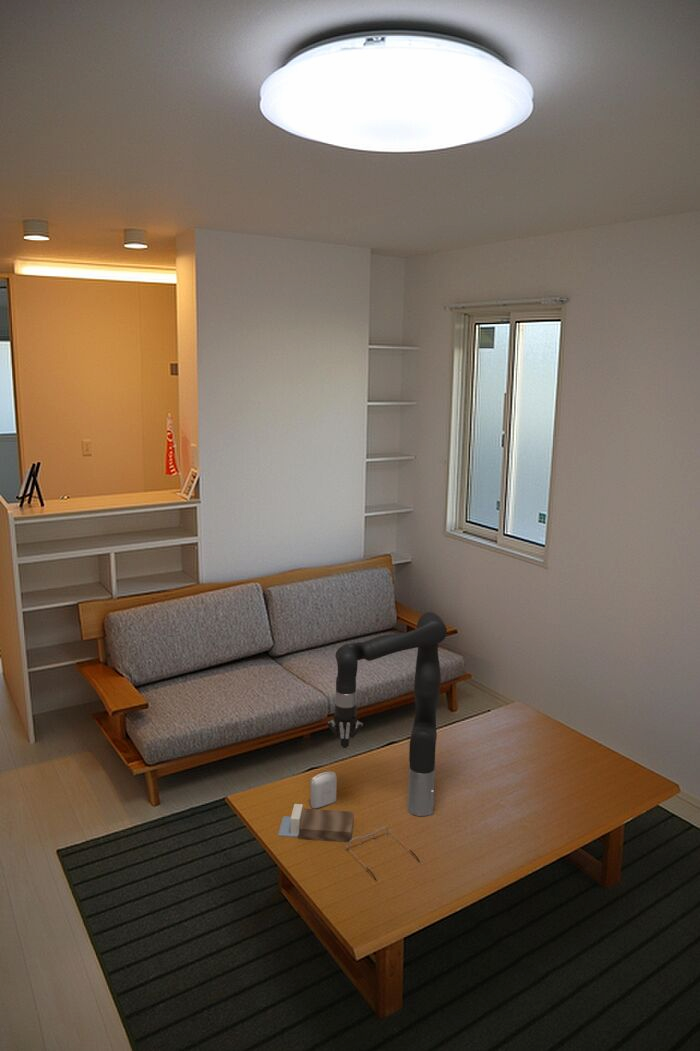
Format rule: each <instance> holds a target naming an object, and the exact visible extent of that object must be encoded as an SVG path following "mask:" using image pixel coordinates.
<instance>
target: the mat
mask: <svg viewBox="0 0 700 1051" xmlns="http://www.w3.org/2000/svg"><path fill="white" fill-rule="evenodd" d="M277 836H278V837H291V838H299V835H296V834H291V816H285V815H284V816H282V819H281V823H280V826H279V831H278V834H277Z"/></svg>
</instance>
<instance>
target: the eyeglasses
mask: <svg viewBox="0 0 700 1051" xmlns="http://www.w3.org/2000/svg"><path fill="white" fill-rule="evenodd" d="M384 828H385V829H386V832H385V834H384V836H386V835H387V834H388V833H389V832H390V833H391V834H392V835H393V836H394V837H395V838H396V839H397V840H398V841H400V842H401V844H403V842H402V841H401V840H400V839H399V838H398V837H396V835H395V834H394V833H393V832H392V831H391V830H390V829H388V828H387V826H382V827H379V828H378V829H376V830H375V831H374V832H373V833H369V834H367V835H364V836H363V837H361V836H356V837H353V838H352V839H351V840H350V841H349V842H347V845H345V847H346V849H348V850H349V851H350V852H351V853H352V854H353V855H354V856H355V857H357V855H356V854H355V853H354V852H353V851H352V850H351V848H350V847H349V846H350V843H352V841H353V840H356V839H358V838H360V839H361V840H360V842H359V844H358V846H361V845H362V843H363V840H364V839H365V838H367V837H371V836H373V838H374V839H376V840H377V839H378V838H377V837H375V836H376V833H377V832H378V831H380V830H381V829H384ZM408 851H409V852H410V853H411V854H412V855H413V856H414V857H415V858H416V859H417V861H418V863H419V862H420V863H421V861H420V860H419V857H418V856H417V854H416V853H414V852H413V851H412V850H411V849H408ZM360 863H361V864H362V865H363V866H364V867H365V868H366V869H367V871H368V872H369V874H371V875H372V876H373V878H374V880H375V882H378V880H377V878H376V876H375V875H374V873H373V872H372V871H371V870H370V869H369V868H368V866H366V865H365V864H364V863H363V862H362V861H360Z"/></svg>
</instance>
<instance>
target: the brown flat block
mask: <svg viewBox="0 0 700 1051" xmlns="http://www.w3.org/2000/svg"><path fill="white" fill-rule="evenodd" d="M354 813H355V812H354V811H351V810H348V811H347V810H337V809H336V810H335V809H334V810H333V809H332V810H331V809H319V808H316V809H314V808H303V814H302V819H301V823H300V827H299V835H298V840H306V841H307V840H308V841H310V840H311V841H323V842H324V841H325V842H338V843H349V841H350V840H351V839H353V838H352V835H353V830H354V823H355V822H354V820H355V819H354V817H355V816H354Z"/></svg>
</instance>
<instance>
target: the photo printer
mask: <svg viewBox="0 0 700 1051" xmlns="http://www.w3.org/2000/svg"><path fill="white" fill-rule="evenodd" d="M337 779H338V778H337V774H336V772H334V771H325V772H324V771H323V772H321V773H318V774H316V775H314V776H313V777H312V778H311V779H310V793H309V794H310V798H309V799H310V800H309V804H310V807H311V809H319V808H322V807H325V806H328V805H331V804H334V803H336V802H337V786H338V785H337Z"/></svg>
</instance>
